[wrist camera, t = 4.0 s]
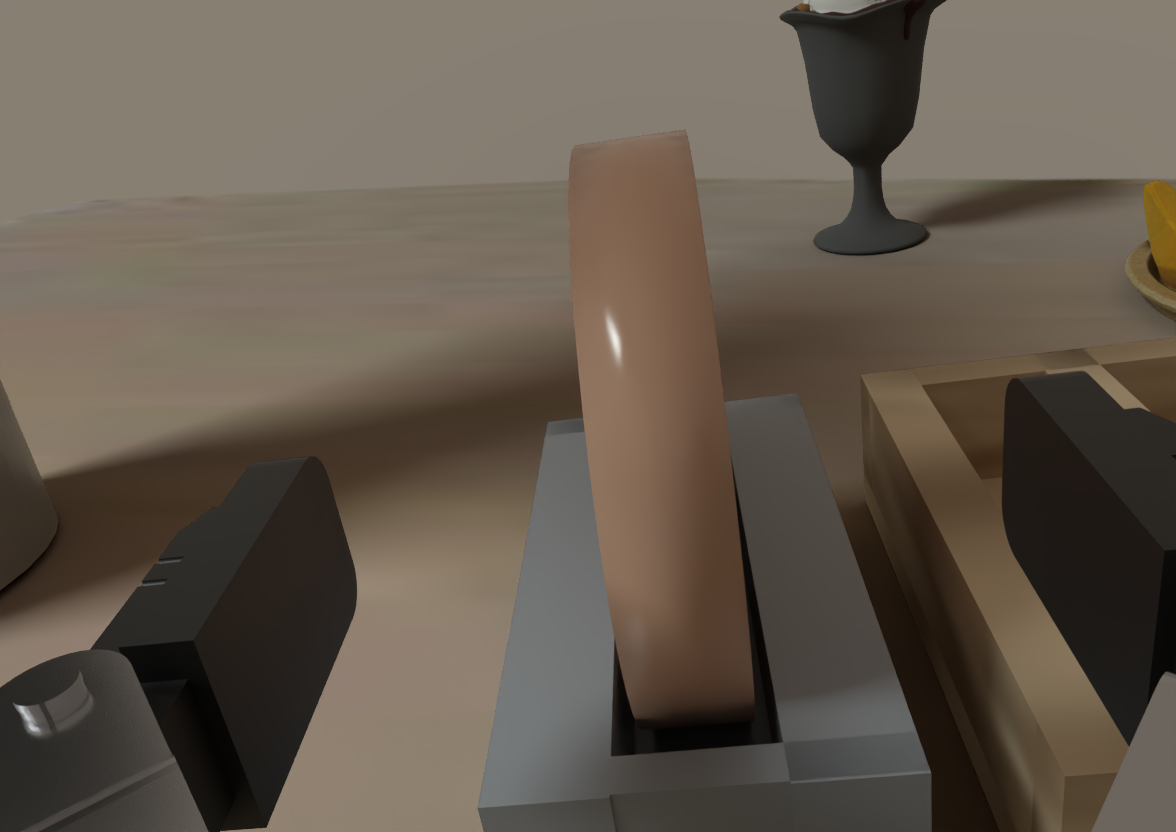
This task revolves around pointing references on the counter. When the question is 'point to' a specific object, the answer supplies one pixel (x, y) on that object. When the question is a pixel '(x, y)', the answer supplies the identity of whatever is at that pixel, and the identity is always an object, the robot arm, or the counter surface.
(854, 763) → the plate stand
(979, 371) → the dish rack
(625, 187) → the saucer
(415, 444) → the counter surface
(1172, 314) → the toy sandwich meal
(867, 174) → the sundae
